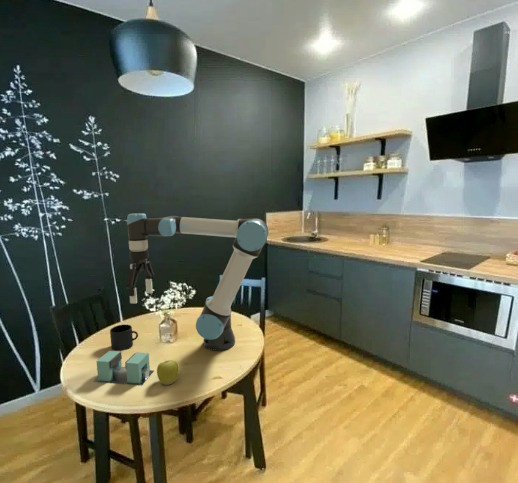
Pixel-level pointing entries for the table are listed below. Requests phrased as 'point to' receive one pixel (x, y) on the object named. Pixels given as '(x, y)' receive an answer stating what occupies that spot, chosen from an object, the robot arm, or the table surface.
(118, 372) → the rail base
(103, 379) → the teal notched block
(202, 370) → the table surface
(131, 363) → the teal arch
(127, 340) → the mug
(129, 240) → the robot arm
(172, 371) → the apple
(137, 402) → the table surface
